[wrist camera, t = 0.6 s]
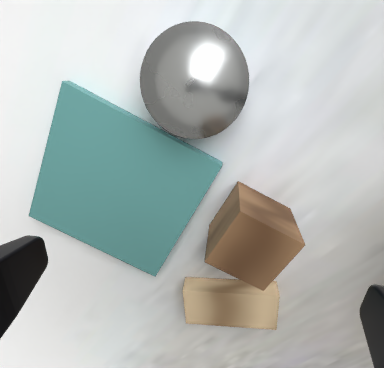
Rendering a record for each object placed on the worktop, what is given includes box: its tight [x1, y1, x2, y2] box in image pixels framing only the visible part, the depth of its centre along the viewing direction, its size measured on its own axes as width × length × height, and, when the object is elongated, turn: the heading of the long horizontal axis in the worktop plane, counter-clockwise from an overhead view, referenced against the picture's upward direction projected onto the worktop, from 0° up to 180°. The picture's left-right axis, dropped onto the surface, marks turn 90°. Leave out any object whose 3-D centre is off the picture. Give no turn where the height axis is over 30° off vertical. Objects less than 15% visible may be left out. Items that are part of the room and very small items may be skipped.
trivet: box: [29, 81, 222, 276], centre depth 21 cm, size 12×12×1 cm
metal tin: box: [140, 21, 249, 139], centre depth 16 cm, size 6×6×3 cm
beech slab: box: [183, 277, 279, 330], centre depth 24 cm, size 8×4×2 cm, turn 94°
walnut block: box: [205, 181, 305, 291], centre depth 19 cm, size 4×4×4 cm
